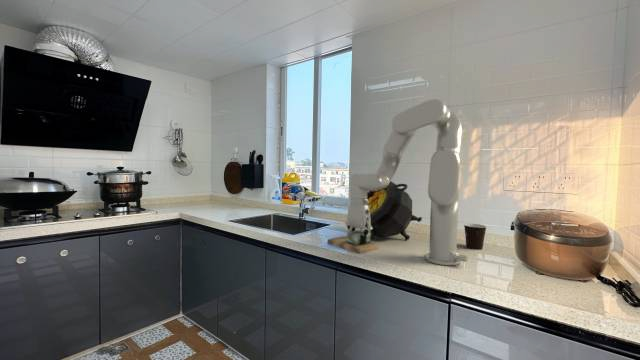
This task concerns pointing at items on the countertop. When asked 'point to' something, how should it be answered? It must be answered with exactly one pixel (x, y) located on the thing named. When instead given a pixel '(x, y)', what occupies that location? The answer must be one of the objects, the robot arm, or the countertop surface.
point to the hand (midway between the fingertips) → (358, 242)
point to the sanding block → (356, 237)
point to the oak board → (360, 249)
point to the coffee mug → (474, 236)
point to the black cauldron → (390, 211)
